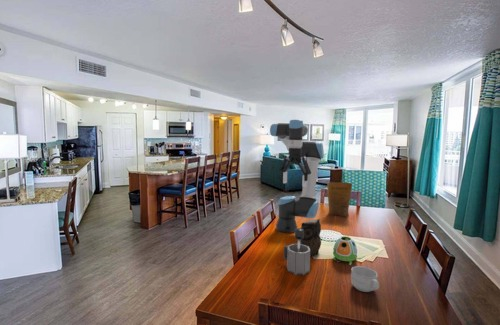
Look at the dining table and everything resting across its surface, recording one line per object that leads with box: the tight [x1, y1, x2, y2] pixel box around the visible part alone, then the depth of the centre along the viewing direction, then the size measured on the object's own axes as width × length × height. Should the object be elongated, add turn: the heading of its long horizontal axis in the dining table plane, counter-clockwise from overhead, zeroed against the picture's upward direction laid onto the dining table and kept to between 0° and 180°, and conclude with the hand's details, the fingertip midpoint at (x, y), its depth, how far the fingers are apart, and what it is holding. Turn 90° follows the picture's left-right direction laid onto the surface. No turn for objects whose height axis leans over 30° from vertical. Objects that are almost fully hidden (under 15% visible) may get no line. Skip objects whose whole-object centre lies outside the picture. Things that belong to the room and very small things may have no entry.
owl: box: [300, 218, 322, 258], centre depth 154 cm, size 13×13×20 cm
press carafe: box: [283, 243, 311, 276], centre depth 138 cm, size 14×11×11 cm
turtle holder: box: [332, 235, 358, 266], centre depth 150 cm, size 12×18×12 cm
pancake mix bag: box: [326, 181, 353, 217], centre depth 226 cm, size 7×19×28 cm, turn 63°
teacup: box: [350, 265, 380, 293], centre depth 120 cm, size 14×11×8 cm
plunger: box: [294, 227, 304, 252], centre depth 137 cm, size 8×8×19 cm
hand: (294, 184), depth 156 cm, fingers open, 13 cm apart
